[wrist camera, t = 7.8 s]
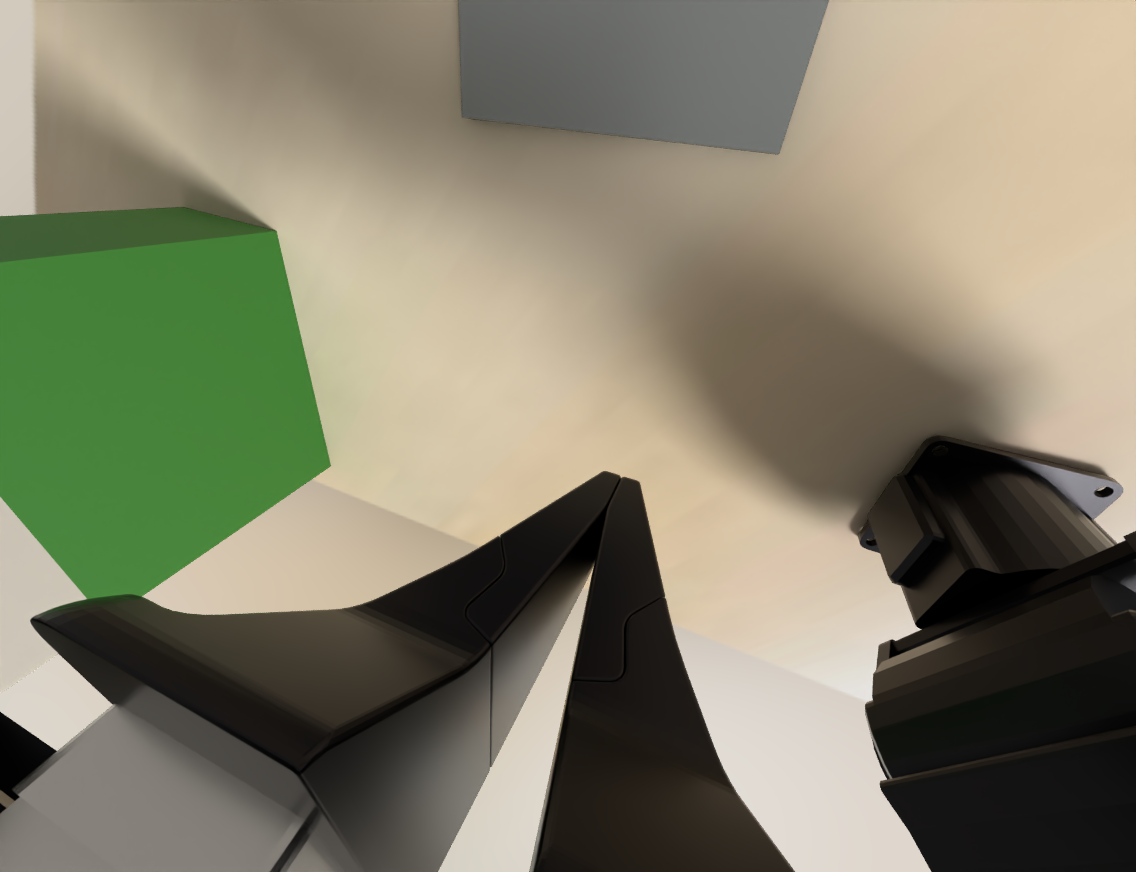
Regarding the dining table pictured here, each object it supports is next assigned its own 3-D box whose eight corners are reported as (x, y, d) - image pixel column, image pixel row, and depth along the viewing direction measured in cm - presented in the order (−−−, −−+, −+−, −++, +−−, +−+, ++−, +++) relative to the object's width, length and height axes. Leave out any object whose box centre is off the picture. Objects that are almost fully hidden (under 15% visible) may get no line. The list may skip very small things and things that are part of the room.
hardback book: (330, 466, 34) (-201, 831, 15) (261, 438, 36) (-300, 737, 17) (276, 231, 24) (-1480, 428, 5) (183, 207, 26) (-1426, 289, 7)
